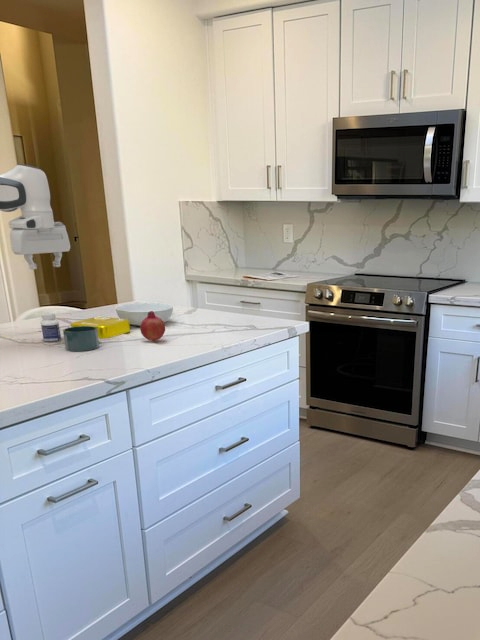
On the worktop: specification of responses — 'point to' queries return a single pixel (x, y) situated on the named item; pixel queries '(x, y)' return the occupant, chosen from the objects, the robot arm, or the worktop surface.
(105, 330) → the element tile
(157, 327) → the fruit
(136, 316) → the serving bowl
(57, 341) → the pill bottle
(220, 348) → the worktop surface
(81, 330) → the dark teal round container
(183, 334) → the worktop surface
